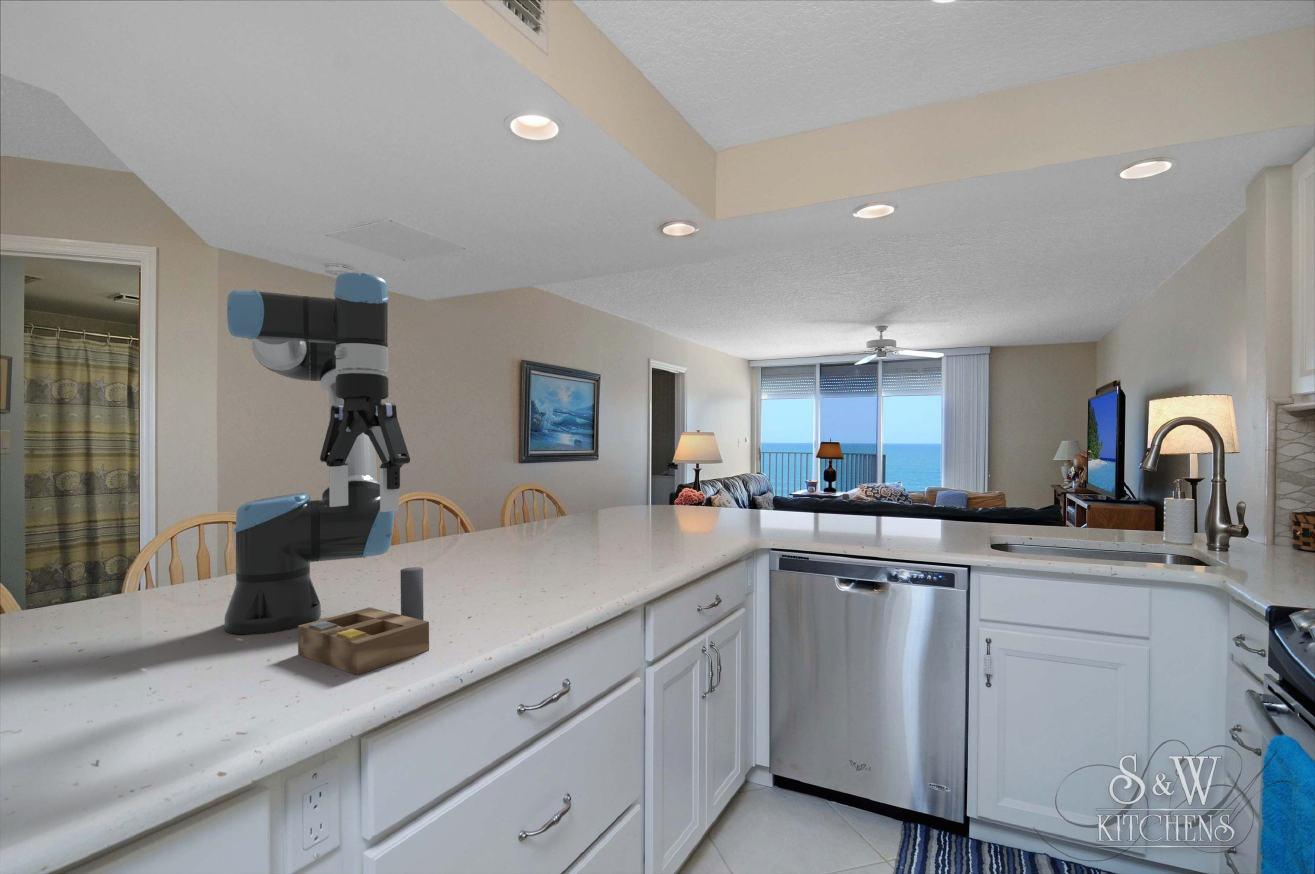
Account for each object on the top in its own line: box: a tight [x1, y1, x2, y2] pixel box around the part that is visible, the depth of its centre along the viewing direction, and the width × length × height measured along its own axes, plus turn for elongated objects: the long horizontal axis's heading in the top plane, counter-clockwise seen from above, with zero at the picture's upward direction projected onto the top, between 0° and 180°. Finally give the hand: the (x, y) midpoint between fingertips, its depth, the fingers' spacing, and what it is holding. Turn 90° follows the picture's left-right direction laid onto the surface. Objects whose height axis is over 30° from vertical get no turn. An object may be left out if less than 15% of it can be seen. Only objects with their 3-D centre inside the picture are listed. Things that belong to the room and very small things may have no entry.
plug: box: [400, 566, 425, 621], centre depth 111 cm, size 4×4×10 cm
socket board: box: [297, 607, 430, 676], centre depth 97 cm, size 16×12×5 cm
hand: (363, 508), depth 97 cm, fingers open, 13 cm apart
